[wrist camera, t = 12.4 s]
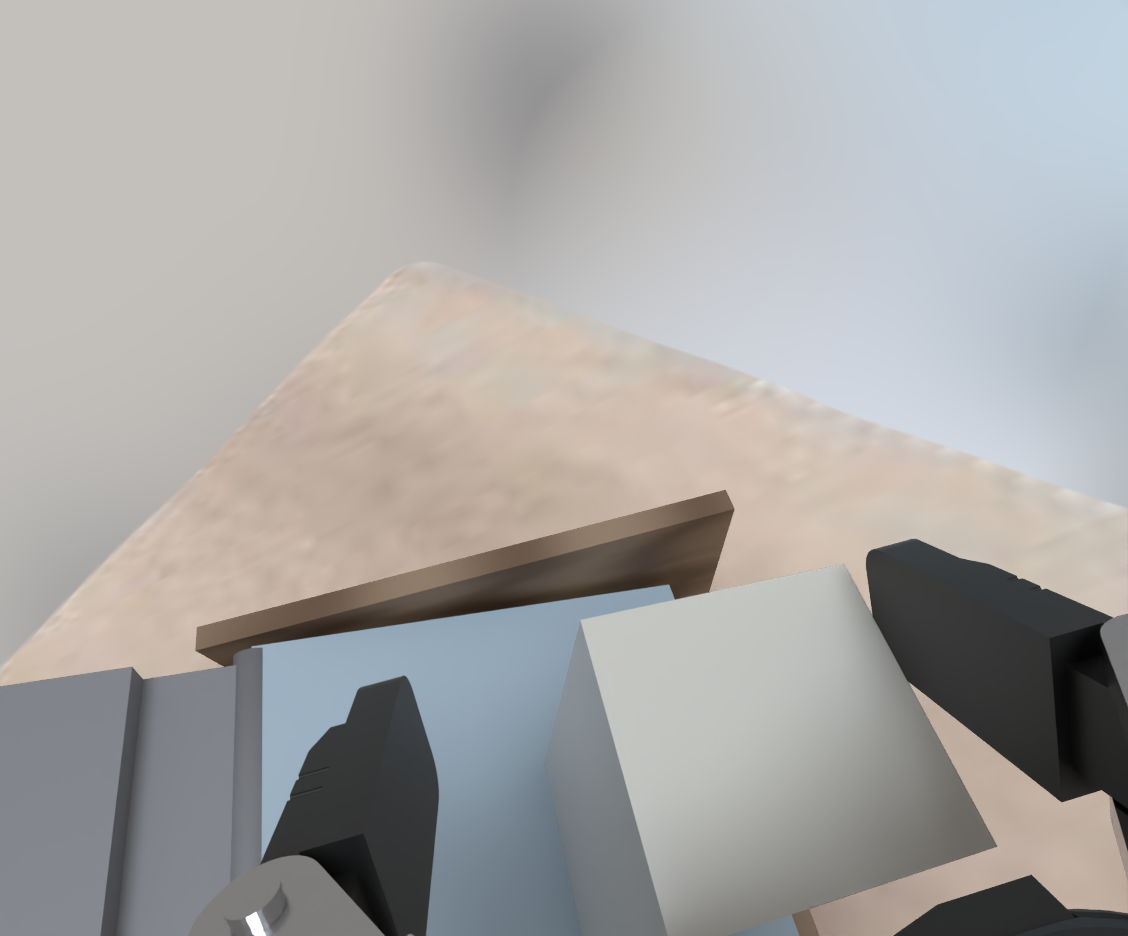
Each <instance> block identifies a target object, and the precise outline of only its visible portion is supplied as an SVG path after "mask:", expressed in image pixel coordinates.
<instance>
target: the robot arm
mask: <svg viewBox="0 0 1128 936" xmlns="http://www.w3.org/2000/svg"><path fill="white" fill-rule="evenodd" d="M866 570H867V577H868V585H869V592H870V599H871V607H872V614H873V618H874V620H875V622H876V624H877V626H878V628H879V629H880V631H881V633H882V635H883V637H884V639H885V640H886V642H887V644H888V646H889V648H890V650H891V652H892V653H893V655H894V657H895V659H896V661H897V663H898V664H899V666H900V668H901V670H902V672H903V674H904V676H905V677H906V679H907V681H908V682H910V683H911V684H912V685H914V686H915V687H916V688H917V689H919V690H920V691H921V692H922V693H924V694H925V695H926V696H928V697H929V698H930V699H931V700H933V701H934V702H935V703H936V704H938V705H939V706H940V707H941V708H943V709H944V710H945V711H947V712H948V713H949V714H950V715H952V716H953V717H954V718H955V719H957V720H958V721H959V722H961V723H962V724H963V725H964V726H966V727H967V728H968V729H969V730H971V731H972V732H973V733H974V734H976V735H977V736H978V737H980V738H981V739H982V740H983V741H985V742H986V743H987V744H988V745H990V746H991V747H992V748H994V749H995V750H996V751H997V752H999V753H1000V754H1001V755H1002V756H1004V757H1005V758H1006V759H1007V760H1009V761H1010V762H1011V763H1013V764H1014V765H1015V766H1016V767H1018V768H1019V769H1020V770H1021V771H1023V772H1024V773H1025V774H1027V775H1028V776H1029V777H1030V778H1032V779H1033V780H1034V781H1035V782H1037V783H1038V784H1039V785H1040V786H1042V787H1043V788H1044V789H1046V790H1047V791H1048V792H1049V793H1051V794H1052V795H1053V796H1054V797H1056V798H1057V799H1058V800H1060V801H1061V802H1064V801H1068V800H1071V799H1074V798H1077V797H1081V796H1084V795H1087V794H1090V793H1093V792H1097V791H1100V790H1102V791H1104V792H1105V793H1107V794H1108V795H1109V797H1110V814H1111V823H1112V826H1113V830H1114V833H1115V837H1116V840H1117V844H1118V848H1119V851H1120V855H1121V858H1122V862H1123V866H1124V869H1125V873H1126V876H1127V880H1128V614H1125V615H1121V616H1117V617H1115V618H1113V617H1111V616H1108V615H1106V614H1104V613H1101V612H1099V611H1097V610H1094V609H1092V608H1090V607H1087V606H1085V605H1083V604H1081V603H1078V602H1076V601H1074V600H1071V599H1069V598H1067V597H1064V596H1062V595H1060V594H1057V593H1055V592H1053V591H1050V590H1048V589H1043V590H1042V589H1041V588H1040V586H1039V585H1036V584H1034V583H1032V582H1029V581H1027V580H1025V579H1018V578H1017V576H1016V575H1013V574H1011V573H1009V572H1006V571H1004V570H1002V569H999V568H997V567H995V566H992V565H990V564H986V563H981V562H976V561H971V560H966V559H961V558H958V557H956V556H954V555H951V554H949V553H947V552H945V551H942V550H940V549H938V548H936V547H933V546H931V545H929V544H927V543H924V542H922V541H920V540H917V539H910V540H907V541H903V542H899V543H896V544H892V545H888V546H884V547H881V548H877V549H873V550H871V551H870V552H869V553H868V555H867V558H866ZM298 776H299V779H298V780H296V782H295V784H294V786H293V789H292V791H291V793H290V800H288V801H287V803H286V805H285V807H284V810H283V812H282V814H281V817H280V819H279V821H278V824H277V826H276V828H275V831H274V833H273V835H272V838H271V840H270V842H269V845H268V847H267V849H266V852H265V854H264V856H263V859H262V861H261V863H260V865H259V866H257V867H255V868H253V869H251V870H249V871H248V872H246V873H244V874H243V875H241V876H240V877H238V878H237V879H235V880H234V881H233V882H231V883H230V884H229V885H227V886H226V887H225V888H224V889H223V890H222V891H220V892H219V893H218V894H217V895H216V896H215V897H214V898H213V899H212V900H211V901H210V902H209V903H208V904H207V906H206V907H205V908H204V909H203V911H202V912H201V913H200V915H199V916H198V918H197V919H196V921H195V922H194V924H193V926H192V928H191V930H190V932H189V934H188V936H426V930H427V920H428V909H429V899H430V888H431V878H432V868H433V857H434V847H435V836H436V826H437V815H438V805H439V785H438V776H437V771H436V766H435V761H434V758H433V754H432V751H431V748H430V744H429V741H428V738H427V735H426V731H425V728H424V725H423V722H422V718H421V715H420V712H419V709H418V705H417V702H416V699H415V696H414V692H413V689H412V686H411V684H410V682H409V680H408V678H407V677H406V676H400V677H397V678H393V679H389V680H386V681H382V682H378V683H375V684H371V685H367V686H363V687H360V688H359V689H358V690H357V693H356V695H355V698H354V701H353V704H352V706H351V709H350V712H349V715H348V717H347V720H346V723H344V724H341V725H337V726H334V727H330V728H329V729H328V731H327V732H326V733H325V734H324V735H323V736H322V737H321V738H320V739H319V740H318V741H317V743H316V744H315V745H314V746H313V747H312V748H311V749H310V750H309V751H308V754H307V756H306V758H305V761H304V763H303V765H302V768H301V770H300V772H299V775H298ZM894 936H1128V913H1121V912H1114V911H1106V910H1088V909H1066V908H1065V907H1064V906H1063V905H1062V904H1061V903H1060V902H1059V901H1058V900H1057V899H1056V898H1055V897H1054V896H1053V895H1052V894H1051V893H1050V892H1049V891H1048V890H1047V889H1046V888H1045V887H1044V886H1042V885H1041V884H1040V883H1039V882H1038V881H1037V880H1036V879H1035V878H1034V877H1033V876H1032V875H1030V876H1026V877H1023V878H1020V879H1017V880H1014V881H1011V882H1007V883H1004V884H1001V885H998V886H995V887H992V888H989V889H985V890H982V891H979V892H976V893H973V894H970V895H967V896H963V897H960V898H957V899H954V900H951V901H948V902H945V903H941V904H938V905H936V906H935V907H934V908H932V909H931V910H929V911H928V912H926V913H925V914H924V915H922V916H921V917H919V918H918V919H916V920H915V921H914V922H912V923H911V924H909V925H908V926H906V927H905V928H904V929H902V930H901V931H899V932H898V933H896V934H895V935H894Z"/></svg>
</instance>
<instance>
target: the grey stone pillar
mask: <svg viewBox="0 0 1128 936" xmlns="http://www.w3.org/2000/svg"><path fill="white" fill-rule="evenodd" d="M544 766H545V770H546V775H547V779H548V784H549V789H550V793H551V798H552V802H553V807H554V812H555V816H556V821H557V826H558V830H559V835H560V839H561V844H562V849H563V853H564V858H565V863H566V867H567V872H568V876H569V881H570V886H571V890H572V895H573V900H574V904H575V909H576V913H577V918H578V923H579V927H580V932H581V936H728V935H731V934H734V933H737V932H740V931H743V930H746V929H749V928H752V927H755V926H758V925H761V924H764V923H768V922H771V921H774V920H777V919H780V918H783V917H786V916H789V915H792V914H795V913H798V912H801V911H804V910H807V909H810V908H813V907H816V906H819V905H822V904H825V903H828V902H831V901H834V900H837V899H840V898H843V897H846V896H849V895H852V894H855V893H858V892H861V891H864V890H867V889H870V888H873V887H876V886H879V885H882V884H885V883H888V882H892V881H895V880H898V879H901V878H904V877H907V876H910V875H913V874H916V873H919V872H922V871H925V870H928V869H931V868H934V867H937V866H940V865H943V864H946V863H949V862H952V861H955V860H958V859H961V858H964V857H967V856H970V855H973V854H976V853H979V852H982V851H985V850H988V849H991V848H994V847H997V845H996V843H995V841H994V839H993V837H992V836H991V834H990V832H989V830H988V828H987V826H986V825H985V823H984V821H983V819H982V817H981V815H980V813H979V812H978V810H977V808H976V806H975V804H974V802H973V801H972V799H971V797H970V795H969V793H968V791H967V789H966V788H965V786H964V784H963V782H962V780H961V778H960V777H959V775H958V773H957V771H956V769H955V767H954V765H953V764H952V762H951V760H950V758H949V756H948V754H947V753H946V751H945V749H944V747H943V745H942V743H941V741H940V740H939V738H938V736H937V734H936V732H935V730H934V729H933V727H932V725H931V723H930V721H929V719H928V717H927V716H926V714H925V712H924V710H923V708H922V706H921V704H920V703H919V701H918V699H917V697H916V695H915V693H914V692H913V690H912V688H911V686H910V684H909V682H908V681H907V679H906V677H905V676H904V674H903V672H902V670H901V668H900V666H899V664H898V663H897V661H896V659H895V657H894V655H893V653H892V652H891V650H890V648H889V646H888V644H887V642H886V640H885V639H884V637H883V635H882V633H881V631H880V629H879V628H878V626H877V624H876V622H875V620H874V618H873V616H872V614H871V612H870V610H869V608H868V607H867V605H866V603H865V601H864V599H863V597H862V596H861V594H860V592H859V590H858V588H857V586H856V584H855V583H854V581H853V579H852V577H851V575H850V573H849V572H848V570H847V568H846V566H845V564H840V565H835V566H831V567H826V568H821V569H817V570H812V571H807V572H803V573H798V574H793V575H789V576H784V577H779V578H775V579H770V580H765V581H761V582H756V583H751V584H746V585H742V586H737V587H732V588H728V589H723V590H718V591H714V592H709V593H704V594H700V595H695V596H690V597H686V598H681V599H676V600H672V601H667V602H662V603H658V604H653V605H648V606H643V607H639V608H634V609H629V610H625V611H620V612H615V613H611V614H606V615H601V616H597V617H592V618H587V619H583V620H580V623H579V627H578V631H577V635H576V639H575V643H574V647H573V651H572V655H571V659H570V663H569V667H568V671H567V675H566V679H565V683H564V687H563V691H562V695H561V699H560V703H559V707H558V711H557V715H556V719H555V723H554V727H553V731H552V735H551V739H550V743H549V747H548V751H547V755H546V759H545V763H544Z"/></svg>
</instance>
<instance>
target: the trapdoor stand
mask: <svg viewBox="0 0 1128 936" xmlns="http://www.w3.org/2000/svg"><path fill="white" fill-rule="evenodd" d="M733 512H734V507H733V505H732V503H731V500H730V498H729V496H728V494H727V492H726V490H723V491H719V492H716V493H712V494H708V495H704V496H700V497H696V498H693V499H689V500H685V501H681V502H677V503H673V504H669V505H666V506H662V507H658V508H654V509H650V510H646V511H643V512H639V513H635V514H631V515H627V516H623V517H619V518H616V519H612V520H608V521H604V522H600V523H596V524H593V525H589V526H585V527H581V528H577V529H573V530H569V531H566V532H562V533H558V534H554V535H550V536H546V537H543V538H539V539H535V540H531V541H527V542H523V543H520V544H516V545H512V546H508V547H504V548H500V549H496V550H493V551H489V552H485V553H481V554H477V555H473V556H470V557H466V558H462V559H458V560H454V561H450V562H446V563H443V564H439V565H435V566H431V567H427V568H423V569H420V570H416V571H412V572H408V573H404V574H400V575H396V576H393V577H389V578H385V579H381V580H377V581H373V582H370V583H366V584H362V585H358V586H354V587H350V588H347V589H343V590H339V591H335V592H331V593H327V594H323V595H320V596H316V597H312V598H308V599H304V600H300V601H297V602H293V603H289V604H285V605H281V606H277V607H273V608H270V609H266V610H262V611H258V612H254V613H250V614H247V615H243V616H239V617H235V618H231V619H227V620H223V621H220V622H216V623H212V624H208V625H204V626H200V627H197V635H196V650H195V651H197V652H199V653H201V654H202V655H204V656H206V657H208V658H210V659H211V660H213V661H215V662H217V663H218V664H220V665H222V666H224V667H227V666H233V656H234V655H235V654H236V653H237V652H239V651H242V650H245V649H250V648H252V646H258V645H265V644H272V643H278V642H285V641H292V640H299V639H305V638H312V637H319V636H326V635H332V634H339V633H346V632H353V631H359V630H366V629H373V628H380V627H386V626H393V625H400V624H407V623H413V622H420V621H427V620H434V619H440V618H447V617H454V616H461V615H467V614H474V613H481V612H488V611H494V610H501V609H508V608H515V607H521V606H528V605H535V604H542V603H548V602H555V601H562V600H569V599H575V598H582V597H589V596H596V595H602V594H609V593H616V592H622V591H629V590H636V589H643V588H649V587H656V586H663V585H670V588H671V591H672V593H673V596H674V599H675V600H676V599H681V598H686V597H690V596H695V595H700V594H704V593H709V590H710V587H711V584H712V580H713V577H714V574H715V571H716V567H717V564H718V561H719V558H720V554H721V551H722V548H723V545H724V541H725V538H726V535H727V532H728V528H729V525H730V522H731V519H732V515H733ZM792 917H793V920H794V922H795V925H796V928H797V931H798V933H799V936H819V934H818V931H817V929H816V926H815V924H814V921H813V918H812V916H811V913H810V911H809V909H807V910H804V911H801V912H798V913H795V914H792Z"/></svg>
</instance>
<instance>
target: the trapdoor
mask: <svg viewBox="0 0 1128 936" xmlns="http://www.w3.org/2000/svg"><path fill="white" fill-rule="evenodd" d="M672 600H675V599H674V596H673V593H672V591H671V588H670V585H663V586H656V587H649V588H643V589H636V590H629V591H622V592H616V593H609V594H602V595H596V596H589V597H582V598H575V599H569V600H562V601H555V602H548V603H542V604H535V605H528V606H521V607H515V608H508V609H501V610H494V611H488V612H481V613H474V614H467V615H461V616H454V617H447V618H440V619H434V620H427V621H420V622H413V623H407V624H400V625H393V626H386V627H380V628H373V629H366V630H359V631H353V632H346V633H339V634H332V635H326V636H319V637H312V638H305V639H299V640H292V641H285V642H278V643H272V644H265V645H258V646H252V648H250V649H245V650H242V651H239V652H237V653H236V654H235V655H234V656H233V666H227V667H221V668H214V669H208V670H201V671H195V672H188V673H182V674H176V675H169V676H163V677H156V678H150V679H142V678H141V676H140V675H139V674H138V673H137V672H136V671H135V670H134V668H133V667H127V668H121V669H114V670H107V671H101V672H94V673H87V674H81V675H74V676H67V677H60V678H54V679H47V680H40V681H34V682H27V683H20V684H14V685H7V686H0V936H188V934H189V932H190V930H191V928H192V926H193V924H194V922H195V921H196V919H197V918H198V916H199V915H200V913H201V912H202V911H203V909H204V908H205V907H206V906H207V904H208V903H209V902H210V901H211V900H212V899H213V898H214V897H215V896H216V895H217V894H218V893H219V892H220V891H222V890H223V889H224V888H225V887H226V886H227V885H229V884H230V883H231V882H233V881H234V880H235V879H237V878H238V877H240V876H241V875H243V874H244V873H246V872H248V871H249V870H251V869H253V868H255V867H257V866H259V865H260V863H261V861H262V859H263V856H264V854H265V852H266V849H267V847H268V845H269V842H270V840H271V838H272V835H273V833H274V831H275V828H276V826H277V824H278V821H279V819H280V817H281V814H282V812H283V810H284V807H285V805H286V803H287V801H288V800H290V793H291V791H292V789H293V786H294V784H295V782H296V780H298V779H299V776H298V775H299V772H300V770H301V768H302V765H303V763H304V761H305V758H306V756H307V754H308V751H309V750H310V749H311V748H312V747H313V746H314V745H315V744H316V743H317V741H318V740H319V739H320V738H321V737H322V736H323V735H324V734H325V733H326V732H327V731H328V729H329V728H330V727H334V726H337V725H341V724H344V723H346V720H347V717H348V715H349V712H350V709H351V706H352V704H353V701H354V698H355V695H356V693H357V690H358V689H359V688H360V687H363V686H367V685H371V684H375V683H378V682H382V681H386V680H389V679H393V678H397V677H400V676H406V677H407V678H408V680H409V682H410V684H411V686H412V689H413V692H414V696H415V699H416V702H417V705H418V709H419V712H420V715H421V718H422V722H423V725H424V728H425V731H426V735H427V738H428V741H429V744H430V748H431V751H432V754H433V758H434V761H435V766H436V771H437V776H438V785H439V805H438V815H437V826H436V836H435V847H434V857H433V868H432V878H431V888H430V899H429V909H428V920H427V930H426V936H581V932H580V927H579V923H578V918H577V913H576V909H575V904H574V900H573V895H572V890H571V886H570V881H569V876H568V872H567V867H566V863H565V858H564V853H563V849H562V844H561V839H560V835H559V830H558V826H557V821H556V816H555V812H554V807H553V802H552V798H551V793H550V789H549V784H548V779H547V775H546V770H545V766H544V763H545V759H546V755H547V751H548V747H549V743H550V739H551V735H552V731H553V727H554V723H555V719H556V715H557V711H558V707H559V703H560V699H561V695H562V691H563V687H564V683H565V679H566V675H567V671H568V667H569V663H570V659H571V655H572V651H573V647H574V643H575V639H576V635H577V631H578V627H579V623H580V620H583V619H587V618H592V617H597V616H601V615H606V614H611V613H615V612H620V611H625V610H629V609H634V608H639V607H643V606H648V605H653V604H658V603H662V602H667V601H672ZM728 936H799V933H798V931H797V928H796V925H795V922H794V920H793V917H792V915H789V916H786V917H783V918H780V919H777V920H774V921H771V922H768V923H764V924H761V925H758V926H755V927H752V928H749V929H746V930H743V931H740V932H737V933H734V934H731V935H728Z"/></svg>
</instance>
